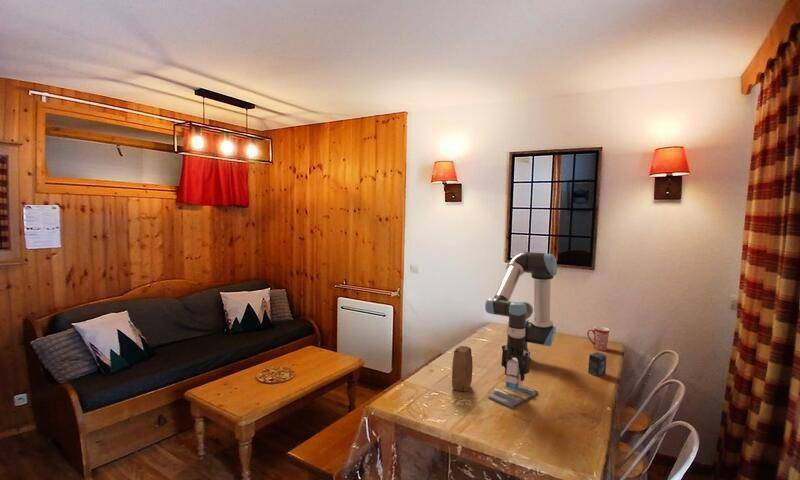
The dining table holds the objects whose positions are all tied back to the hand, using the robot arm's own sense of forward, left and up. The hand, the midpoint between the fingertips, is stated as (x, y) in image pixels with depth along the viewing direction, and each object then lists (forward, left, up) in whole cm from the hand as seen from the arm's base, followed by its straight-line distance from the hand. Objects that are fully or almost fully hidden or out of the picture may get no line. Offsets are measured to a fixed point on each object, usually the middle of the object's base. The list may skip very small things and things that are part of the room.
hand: (514, 384), depth 182 cm
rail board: (0, 0, -6) cm, 6 cm away
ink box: (0, 0, -1) cm, 1 cm away
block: (-21, -12, -6) cm, 25 cm away
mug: (-1, +102, -6) cm, 102 cm away
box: (+15, +59, -6) cm, 61 cm away
